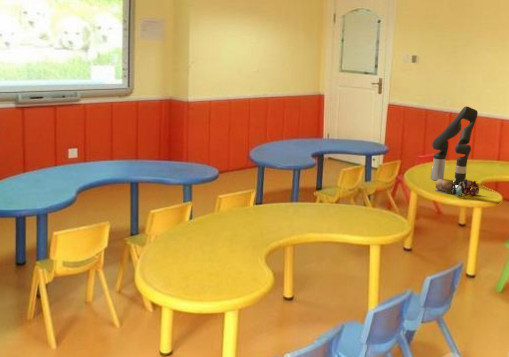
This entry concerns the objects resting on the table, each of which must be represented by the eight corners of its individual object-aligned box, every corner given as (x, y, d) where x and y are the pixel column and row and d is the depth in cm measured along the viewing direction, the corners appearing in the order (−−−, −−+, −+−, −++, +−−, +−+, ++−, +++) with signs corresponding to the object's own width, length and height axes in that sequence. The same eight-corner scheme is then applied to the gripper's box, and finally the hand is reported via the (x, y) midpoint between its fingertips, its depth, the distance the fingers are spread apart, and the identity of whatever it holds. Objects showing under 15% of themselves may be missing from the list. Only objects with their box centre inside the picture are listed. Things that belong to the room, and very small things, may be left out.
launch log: (435, 190, 481) (436, 179, 479) (442, 189, 486) (443, 178, 484) (446, 193, 473) (447, 182, 471) (453, 192, 478) (454, 181, 476)
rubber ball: (453, 195, 469) (453, 188, 468) (457, 194, 472) (458, 187, 471) (458, 196, 465) (459, 190, 464) (463, 196, 468) (463, 189, 467)
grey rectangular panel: (435, 190, 481) (435, 190, 481) (453, 187, 493) (453, 187, 493) (445, 193, 473) (446, 193, 473) (464, 190, 485) (464, 190, 485)
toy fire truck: (477, 196, 468) (478, 182, 466) (459, 194, 474) (461, 180, 472) (479, 194, 474) (480, 180, 472) (461, 192, 480) (463, 178, 478)
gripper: (462, 169, 472) (460, 191, 476) (449, 171, 464) (447, 193, 467) (471, 172, 466) (468, 194, 470) (458, 173, 458) (456, 196, 462)
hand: (458, 193), depth 469 cm, fingers open, 8 cm apart
